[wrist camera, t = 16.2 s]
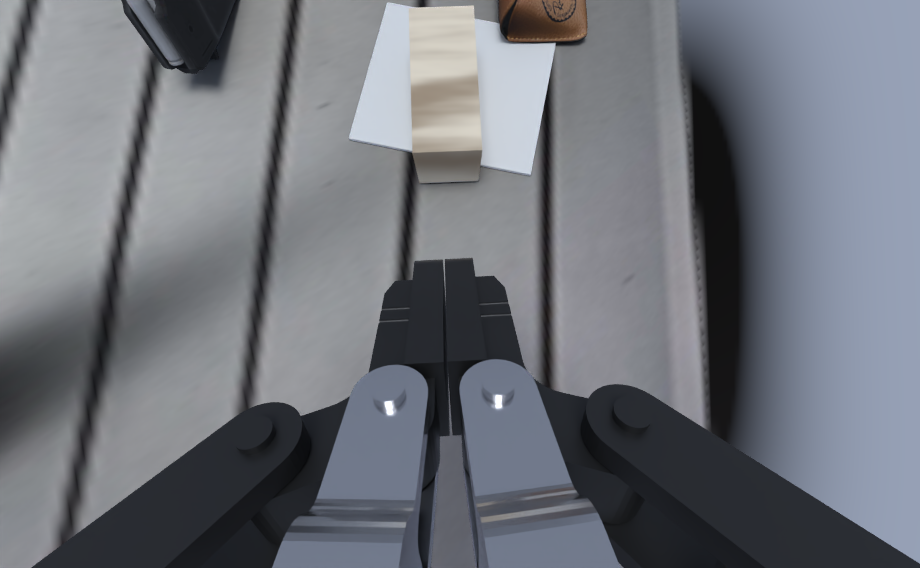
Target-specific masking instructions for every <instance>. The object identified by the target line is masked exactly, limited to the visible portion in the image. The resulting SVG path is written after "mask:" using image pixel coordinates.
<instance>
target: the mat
mask: <svg viewBox="0 0 920 568" xmlns="http://www.w3.org/2000/svg"><path fill="white" fill-rule="evenodd" d="M409 8H415V7H409V6H404V5H399V4H393V3H388V2H387V6H386V9H385V13H384V16H383V20H382V23H381V27H380V30H379V34H378V37H377V41H376V44H375V48H374V51H373V55H372V58H371V62H370V65H369V69H368V72H367V76H366V79H365V83H364V86H363V90H362V93H361V97H360V100H359V104H358V107H357V111H356V114H355V118H354V121H353V125H352V128H351V132H350V135H349V140H351V141H356V142H361V143H366V144H371V145H376V146H381V147H386V148H391V149H396V150H401V151H406V152H412V118H411V79H410V40H409ZM475 36H476V53H477V69H478V86H479V103H480V120H481V136H482V157H481V165H480V166H482V167H487V168H492V169H497V170H502V171H507V172H512V173H517V174H522V175H527V176H530V175H531V170H532V165H533V160H534V154H535V149H536V144H537V139H538V134H539V128H540V123H541V118H542V113H543V108H544V102H545V97H546V92H547V87H548V82H549V76H550V71H551V66H552V61H553V55H554V50H555V45H556V43H519V42H514V43H513V42H509V41H507V40H506V39H505V37H504V36H503V34H502V33H501V31H500V24H499V23H495V22H490V21H484V20H479V19H475Z"/></svg>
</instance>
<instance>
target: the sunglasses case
mask: <svg viewBox="0 0 920 568" xmlns="http://www.w3.org/2000/svg"><path fill="white" fill-rule="evenodd" d="M499 24H500V31H501V33H502V34H503V36H504V37H505V39H506V40H507V41H509V42H513V43H514V42H519V43H559V42H573V41H579V40H581V39H583V38H585V37H586V35H587V11H586V0H499Z"/></svg>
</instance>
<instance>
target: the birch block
mask: <svg viewBox="0 0 920 568" xmlns="http://www.w3.org/2000/svg"><path fill="white" fill-rule="evenodd" d="M409 40H410V79H411V118H412V153H413V157H414V162H415V166H416V170H417V174H418V178H419V183H439V182H464V181H479V173H480V165H481V157H482V136H481V120H480V103H479V86H478V69H477V53H476V36H475V19H474V6H452V7H424V8H409Z"/></svg>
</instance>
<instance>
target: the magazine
mask: <svg viewBox="0 0 920 568" xmlns="http://www.w3.org/2000/svg"><path fill="white" fill-rule="evenodd" d="M121 1H122V3H123V8H124V13H125V14H126V16H127V17H128V18H129V20H130V21H131V23H132V24H133V25H134V27H135V28H136V30H137V31H138V32H139V34H140V35H141V37H142V38H143V39H144V41H145V42H146V44H147V45H148V46H149V48H150V49H151V50H152V52H153V53H154V55H155V56H156V57H157V59H158V60H159V62H160V63H161V64H162V66H163V67H164V68H167V69H171V70H172V69H175V68H177V69H179V70H180V71H182V72H184V73H193V74H197V73H198V71H199V70H204V69H205V67H206V65H207V63H208V61H209V60H210V59H218V58H219V56H218V54H217V51H216V47H217V45H218V43H219V40H220V38H221V36H222V33H223V31H224V29H225V26H226V24H227V21H228V18H229V16H230V13H231V10H232V8H233V5H234V3H235V0H121Z"/></svg>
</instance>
